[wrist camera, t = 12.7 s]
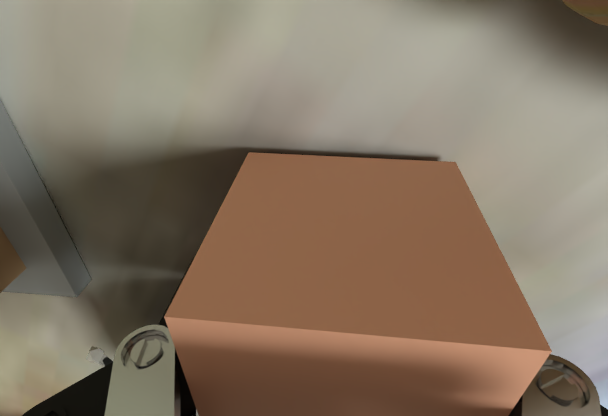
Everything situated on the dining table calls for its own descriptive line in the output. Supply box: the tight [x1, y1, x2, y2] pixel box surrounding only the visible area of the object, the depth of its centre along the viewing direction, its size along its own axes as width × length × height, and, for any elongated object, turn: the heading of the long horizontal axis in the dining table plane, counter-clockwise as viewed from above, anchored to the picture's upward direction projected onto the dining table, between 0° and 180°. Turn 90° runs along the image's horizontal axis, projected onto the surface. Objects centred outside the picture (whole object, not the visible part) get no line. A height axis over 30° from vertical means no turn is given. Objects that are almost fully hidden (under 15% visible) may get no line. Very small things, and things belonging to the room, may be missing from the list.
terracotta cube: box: [164, 152, 552, 416], centre depth 10 cm, size 6×6×6 cm
